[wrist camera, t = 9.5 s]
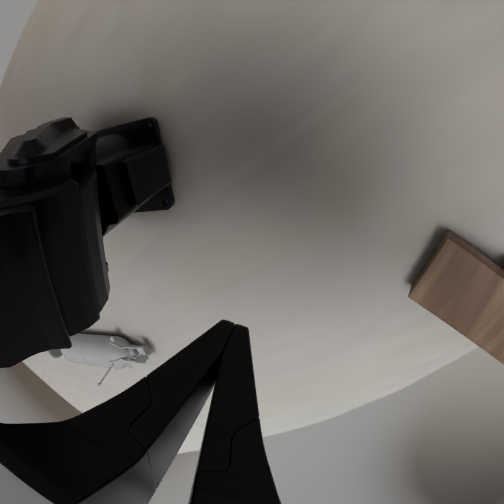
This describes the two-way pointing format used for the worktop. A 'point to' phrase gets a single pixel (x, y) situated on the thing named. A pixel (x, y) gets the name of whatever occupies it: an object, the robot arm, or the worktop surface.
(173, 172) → the worktop surface
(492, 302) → the domino
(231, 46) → the worktop surface
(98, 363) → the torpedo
